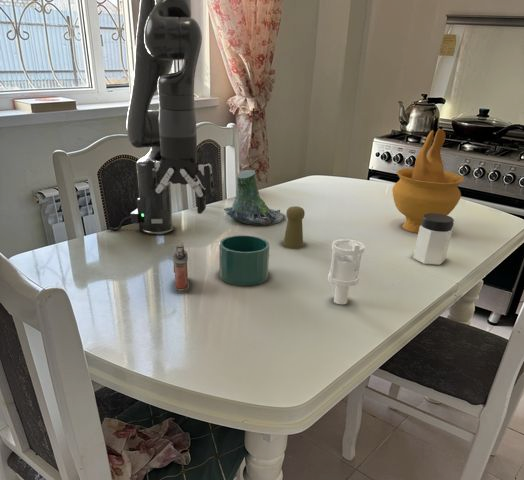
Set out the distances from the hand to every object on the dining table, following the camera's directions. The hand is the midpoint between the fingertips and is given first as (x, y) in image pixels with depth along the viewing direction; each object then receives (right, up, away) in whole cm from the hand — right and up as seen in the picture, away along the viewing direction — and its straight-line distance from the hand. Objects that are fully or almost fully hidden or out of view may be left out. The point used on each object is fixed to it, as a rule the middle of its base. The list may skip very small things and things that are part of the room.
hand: (181, 211), depth 112 cm
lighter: (-2, -16, +9) cm, 18 cm away
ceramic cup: (+13, -12, +16) cm, 24 cm away
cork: (+27, 0, +36) cm, 45 cm away
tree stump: (+15, +13, +56) cm, 60 cm away
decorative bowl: (+70, +9, +54) cm, 89 cm away
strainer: (+36, -20, +6) cm, 42 cm away
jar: (+65, -5, +31) cm, 72 cm away
